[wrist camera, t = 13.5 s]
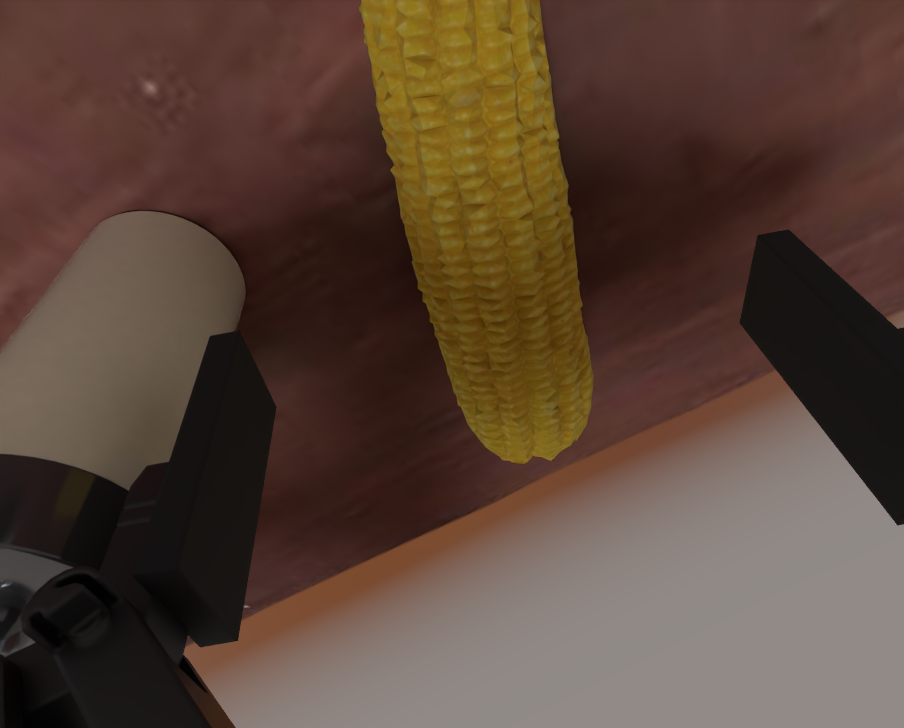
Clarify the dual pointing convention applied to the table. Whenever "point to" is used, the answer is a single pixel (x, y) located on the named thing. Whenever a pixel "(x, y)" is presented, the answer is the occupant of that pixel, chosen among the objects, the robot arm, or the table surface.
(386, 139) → the food
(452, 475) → the table surface
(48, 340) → the pepper mill
